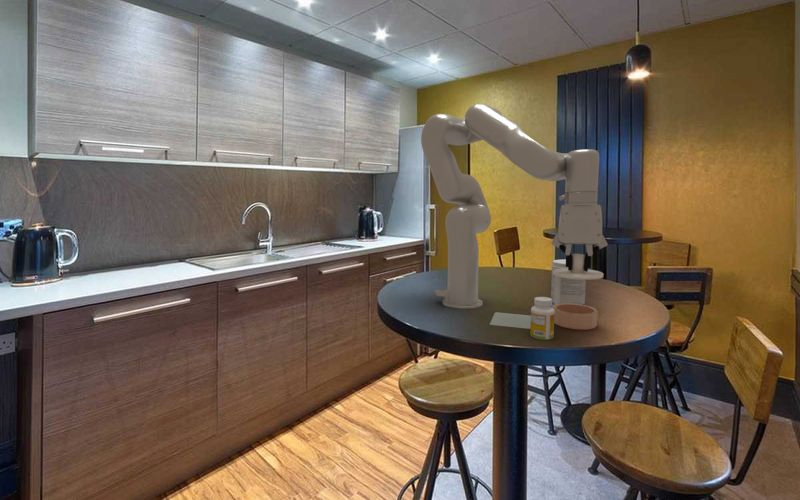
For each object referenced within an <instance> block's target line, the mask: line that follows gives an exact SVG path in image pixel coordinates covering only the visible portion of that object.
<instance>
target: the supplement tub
mask: <svg viewBox="0 0 800 500" xmlns="http://www.w3.org/2000/svg"><path fill="white" fill-rule="evenodd" d="M562 268H568V267H566V258H565V259H554V260H552V265H551V284H550V285H551V290H550V291H551V293H550V298H551V299H552V305H551V307H552V308H553V306H554V305H557V304H566V303H570V304H580V305H585V306H586V287H587V286H586V285H587V282H586V281H587V280H579V279H568V278H562V277H558V276H555V275H553V270H555V269H562Z"/></svg>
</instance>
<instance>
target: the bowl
mask: <svg viewBox="0 0 800 500" xmlns="http://www.w3.org/2000/svg"><path fill="white" fill-rule="evenodd" d="M552 308H553V309H554V311H555V317H554V325H557V326H559V327H562V328H567V329H572V330H592V329H595V328H596V327H597V326H598V314H599V312H598V310H597V309H596V308H594V307H592V306H590V305H586V304H585V305H580V304H570V303H566V304H557V305H554V306H553V307H552Z"/></svg>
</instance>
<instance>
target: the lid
mask: <svg viewBox="0 0 800 500" xmlns="http://www.w3.org/2000/svg"><path fill="white" fill-rule="evenodd" d="M571 255H572V270H571V271H569V270H568V268H562V269H555V270H553V275H555V276H558V277H562V278H568V279H579V280H586V281H591V280H594V281H595V280H600V279H604V273H603V272H602V271H599V270H594V269H590V268H588V272H586V271H584V267H585V254H583V253H571Z"/></svg>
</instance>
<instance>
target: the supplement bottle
mask: <svg viewBox="0 0 800 500" xmlns="http://www.w3.org/2000/svg"><path fill="white" fill-rule="evenodd" d="M533 299H534V300H533V303H534V305H533V306H532V307H531V308H530V315H531V324H530V329H529V330H530V332H529V334H530V336H531V337H532V338H535V339H538V340H551V339H553V338H554V336H555V323H554V317H555V311H554V309H553V307H551V305H552V299H551V297H547V296H536V297H534V298H533Z"/></svg>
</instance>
